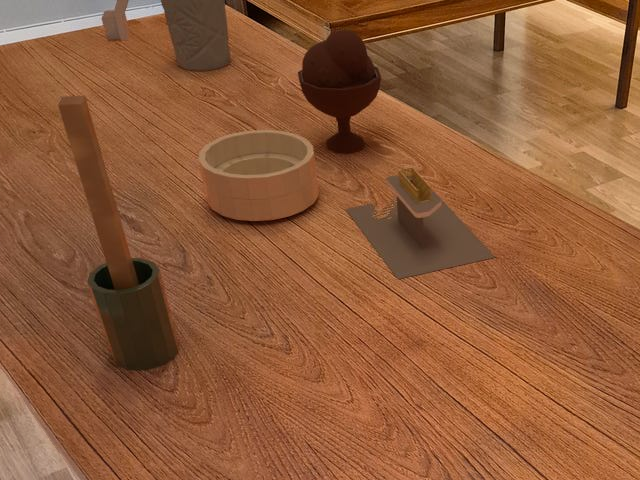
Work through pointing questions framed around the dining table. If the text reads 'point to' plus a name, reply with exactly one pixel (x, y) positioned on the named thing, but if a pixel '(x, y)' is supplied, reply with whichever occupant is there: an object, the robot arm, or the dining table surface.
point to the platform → (418, 230)
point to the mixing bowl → (259, 175)
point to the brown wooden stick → (98, 190)
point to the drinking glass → (198, 33)
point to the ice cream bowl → (340, 84)
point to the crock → (135, 317)
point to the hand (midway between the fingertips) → (54, 42)
